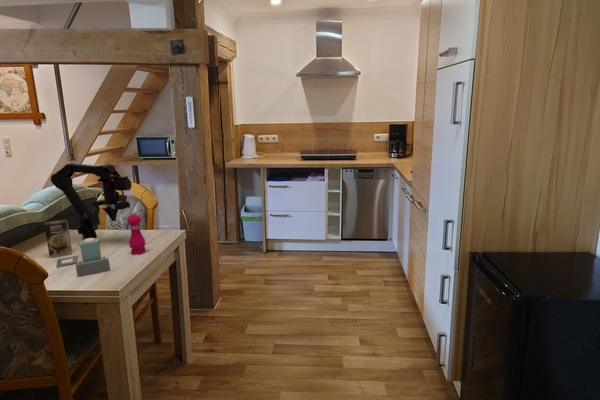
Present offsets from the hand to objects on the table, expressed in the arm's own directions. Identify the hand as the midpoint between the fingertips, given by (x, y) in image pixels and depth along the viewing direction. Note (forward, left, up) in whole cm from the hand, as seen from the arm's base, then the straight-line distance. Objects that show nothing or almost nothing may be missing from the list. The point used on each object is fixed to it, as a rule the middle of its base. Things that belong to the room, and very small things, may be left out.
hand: (113, 221), depth 196 cm
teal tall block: (+16, -28, -12) cm, 34 cm away
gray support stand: (+17, -28, -12) cm, 35 cm away
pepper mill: (+20, -6, -12) cm, 24 cm away
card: (-2, -26, -12) cm, 29 cm away
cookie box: (-14, -20, -12) cm, 27 cm away
